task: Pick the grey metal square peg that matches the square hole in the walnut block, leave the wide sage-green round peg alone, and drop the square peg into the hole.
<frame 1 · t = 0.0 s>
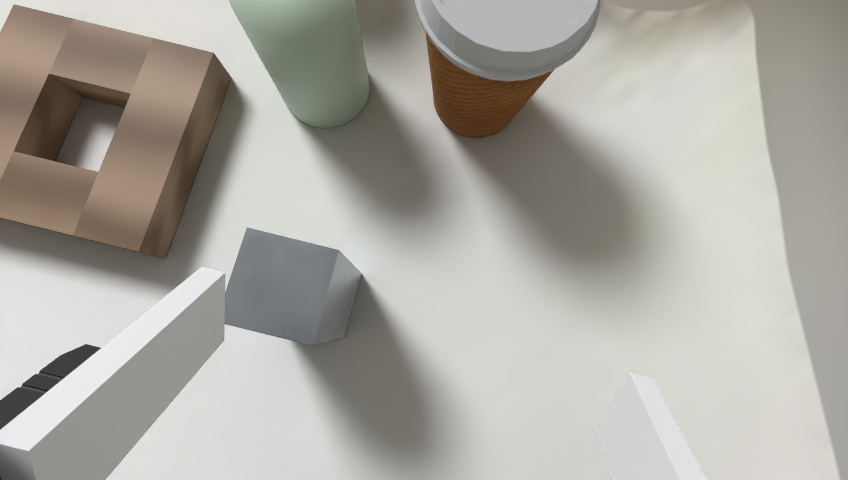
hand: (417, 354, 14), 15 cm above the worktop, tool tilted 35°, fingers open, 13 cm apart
socket block: (105, 140, 31), on the worktop
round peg: (326, 88, 32), on the worktop
square peg: (322, 297, 29), on the worktop
disposable coffee cup: (474, 100, 33), on the worktop
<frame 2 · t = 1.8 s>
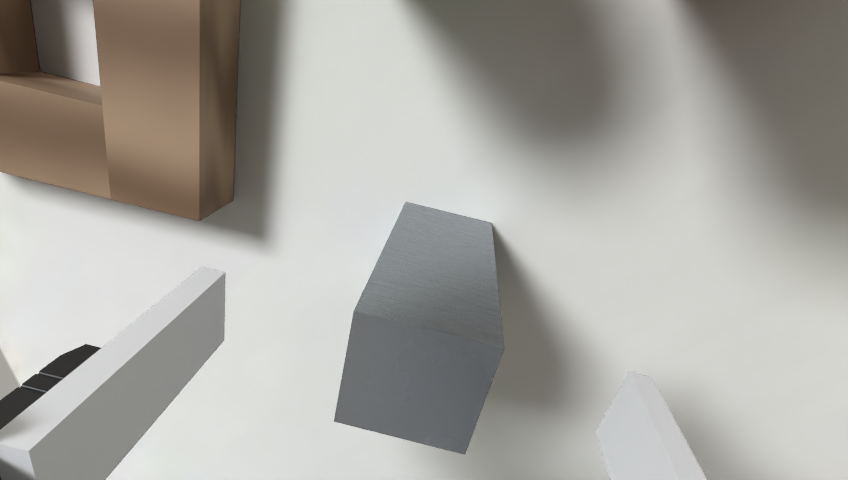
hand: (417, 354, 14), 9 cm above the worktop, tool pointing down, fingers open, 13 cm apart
socket block: (89, 21, 20), on the worktop
square peg: (438, 251, 22), on the worktop
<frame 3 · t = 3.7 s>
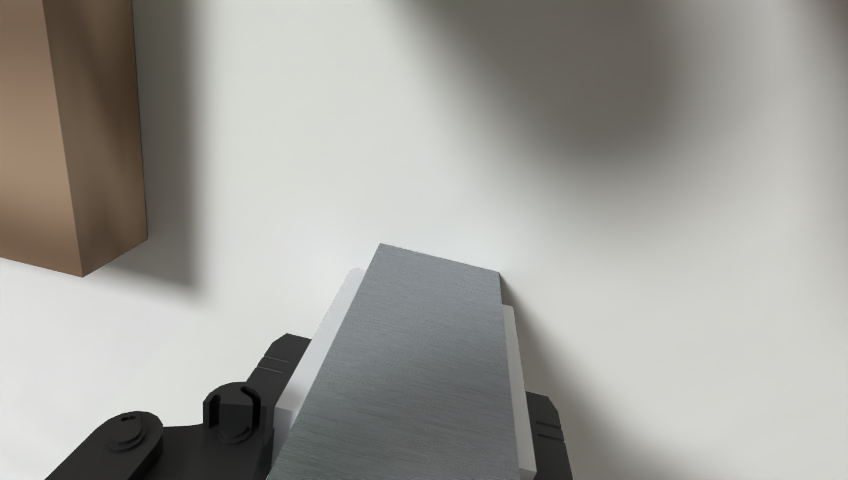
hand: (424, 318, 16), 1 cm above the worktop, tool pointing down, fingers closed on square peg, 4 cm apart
square peg: (426, 307, 16), on the worktop, touching gripper
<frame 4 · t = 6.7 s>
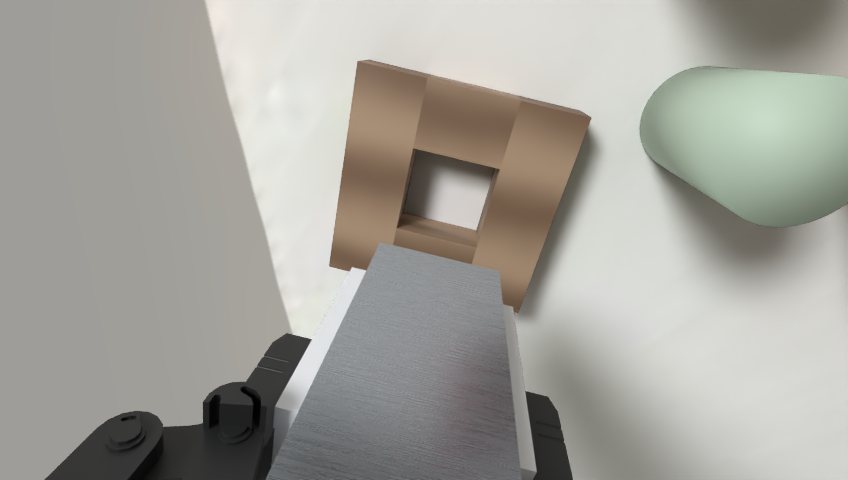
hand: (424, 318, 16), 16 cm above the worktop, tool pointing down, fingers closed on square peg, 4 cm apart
socket block: (448, 186, 31), on the worktop
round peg: (693, 120, 27), on the worktop
square peg: (426, 306, 16), point 16 cm above the worktop, touching gripper
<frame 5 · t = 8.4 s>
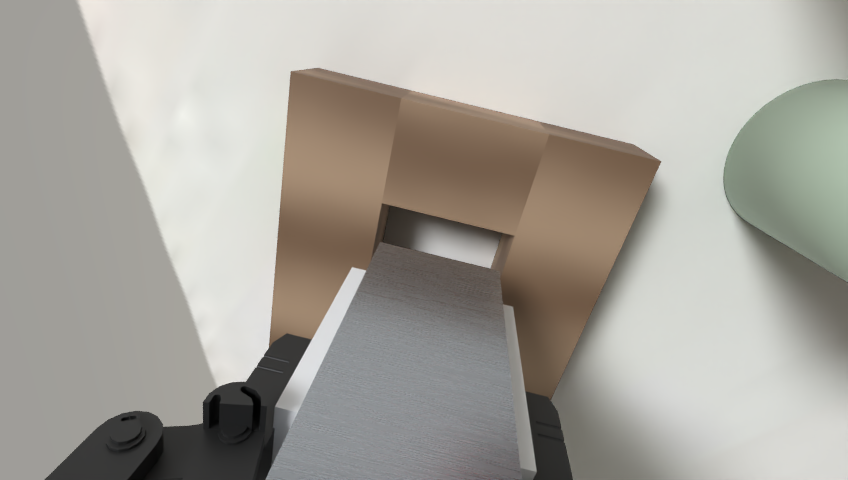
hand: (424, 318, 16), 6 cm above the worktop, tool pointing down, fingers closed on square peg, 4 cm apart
socket block: (438, 248, 21), on the worktop
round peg: (807, 161, 18), on the worktop
square peg: (426, 306, 16), point 6 cm above the worktop, touching gripper
when the fingers open (5 cm above the worktop, at t = 9.6 s): square peg drops 4 cm, resting in socket block.
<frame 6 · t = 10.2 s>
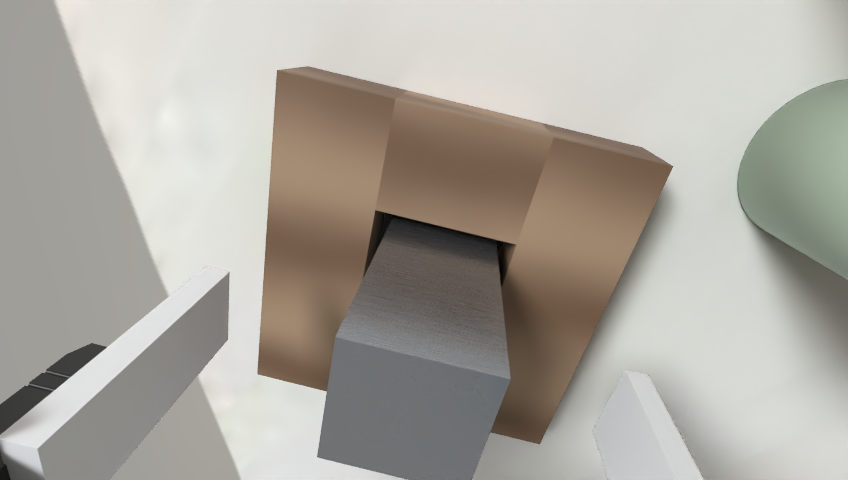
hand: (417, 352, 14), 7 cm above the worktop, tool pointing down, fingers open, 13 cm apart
socket block: (435, 255, 20), on the worktop
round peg: (826, 165, 17), on the worktop
square peg: (436, 255, 20), resting in socket block
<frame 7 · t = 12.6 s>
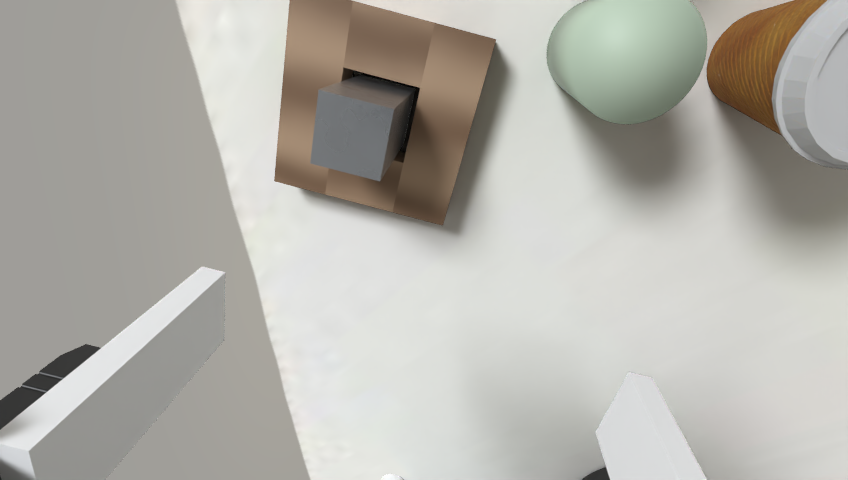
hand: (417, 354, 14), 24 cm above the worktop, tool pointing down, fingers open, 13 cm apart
socket block: (382, 110, 34), on the worktop
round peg: (592, 49, 31), on the worktop
square peg: (382, 110, 34), resting in socket block
disposable coffee cup: (753, 59, 30), on the worktop
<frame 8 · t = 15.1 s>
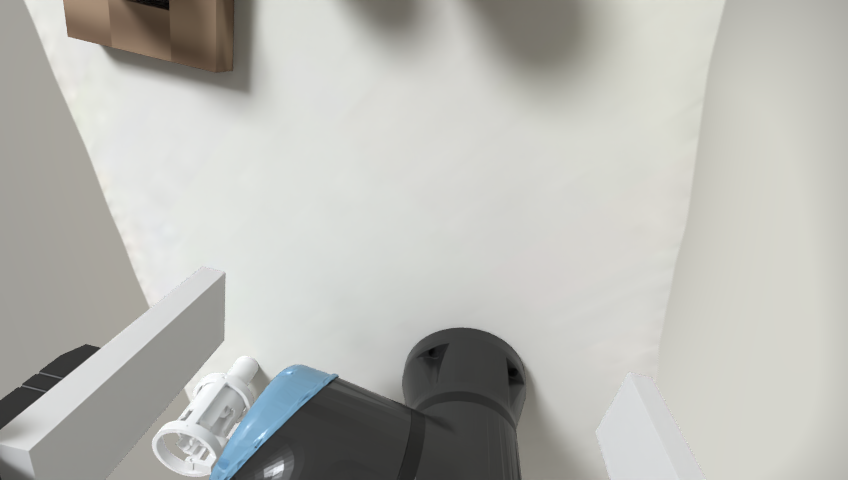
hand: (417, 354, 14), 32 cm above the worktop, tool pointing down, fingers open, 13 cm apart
white tall cylindrical piece: (248, 363, 58), on the worktop
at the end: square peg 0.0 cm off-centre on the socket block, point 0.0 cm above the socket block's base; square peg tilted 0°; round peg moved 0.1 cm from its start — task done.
